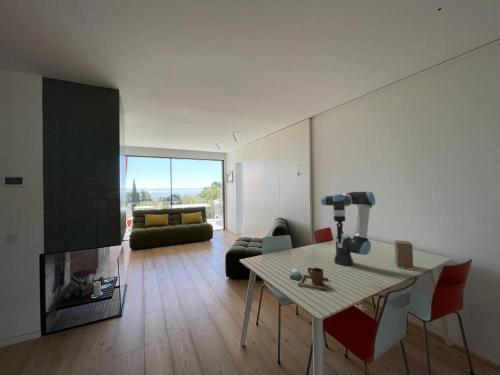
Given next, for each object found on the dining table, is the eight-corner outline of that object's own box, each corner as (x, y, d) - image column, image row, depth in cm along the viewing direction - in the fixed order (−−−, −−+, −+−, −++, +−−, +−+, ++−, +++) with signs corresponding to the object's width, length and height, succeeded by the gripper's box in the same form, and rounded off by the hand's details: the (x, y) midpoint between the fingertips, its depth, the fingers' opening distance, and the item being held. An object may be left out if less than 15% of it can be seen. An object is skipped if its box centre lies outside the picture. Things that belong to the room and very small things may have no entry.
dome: (292, 272, 152) (292, 268, 152) (300, 273, 150) (300, 269, 150) (290, 275, 147) (290, 271, 147) (299, 276, 144) (298, 272, 144)
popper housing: (292, 274, 153) (292, 272, 153) (301, 276, 150) (301, 273, 150) (289, 278, 146) (289, 275, 147) (299, 280, 143) (299, 277, 144)
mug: (304, 280, 142) (304, 267, 143) (311, 278, 146) (311, 265, 147) (318, 287, 132) (318, 272, 132) (326, 284, 136) (325, 270, 137)
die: (310, 275, 152) (309, 269, 152) (314, 275, 151) (314, 269, 151) (310, 277, 148) (310, 271, 148) (315, 277, 148) (315, 271, 148)
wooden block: (395, 263, 172) (394, 240, 173) (410, 265, 168) (409, 241, 168) (397, 267, 163) (397, 242, 164) (413, 269, 159) (412, 244, 159)
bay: (303, 276, 150) (303, 274, 150) (328, 280, 143) (328, 278, 143) (298, 285, 135) (298, 283, 135) (326, 290, 127) (326, 288, 127)
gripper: (335, 213, 159) (336, 240, 159) (332, 217, 136) (333, 249, 136) (345, 213, 155) (346, 240, 155) (344, 218, 133) (345, 250, 133)
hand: (340, 244), depth 146 cm, fingers open, 13 cm apart
